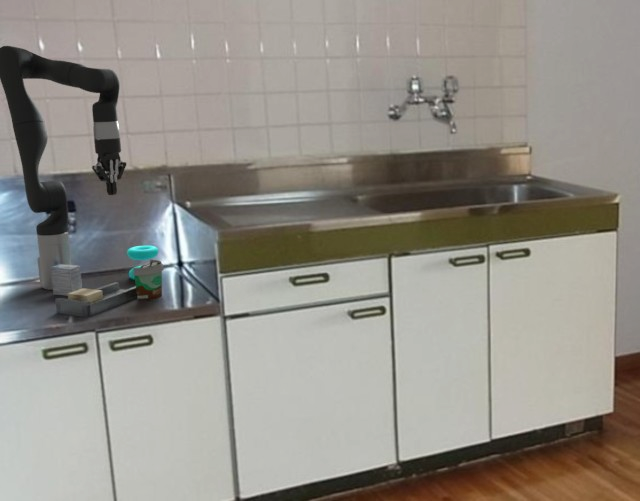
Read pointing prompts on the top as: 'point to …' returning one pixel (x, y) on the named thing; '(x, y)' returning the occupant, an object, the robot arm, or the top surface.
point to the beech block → (86, 295)
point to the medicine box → (65, 279)
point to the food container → (149, 280)
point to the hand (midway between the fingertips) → (112, 194)
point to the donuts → (141, 255)
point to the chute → (86, 309)
